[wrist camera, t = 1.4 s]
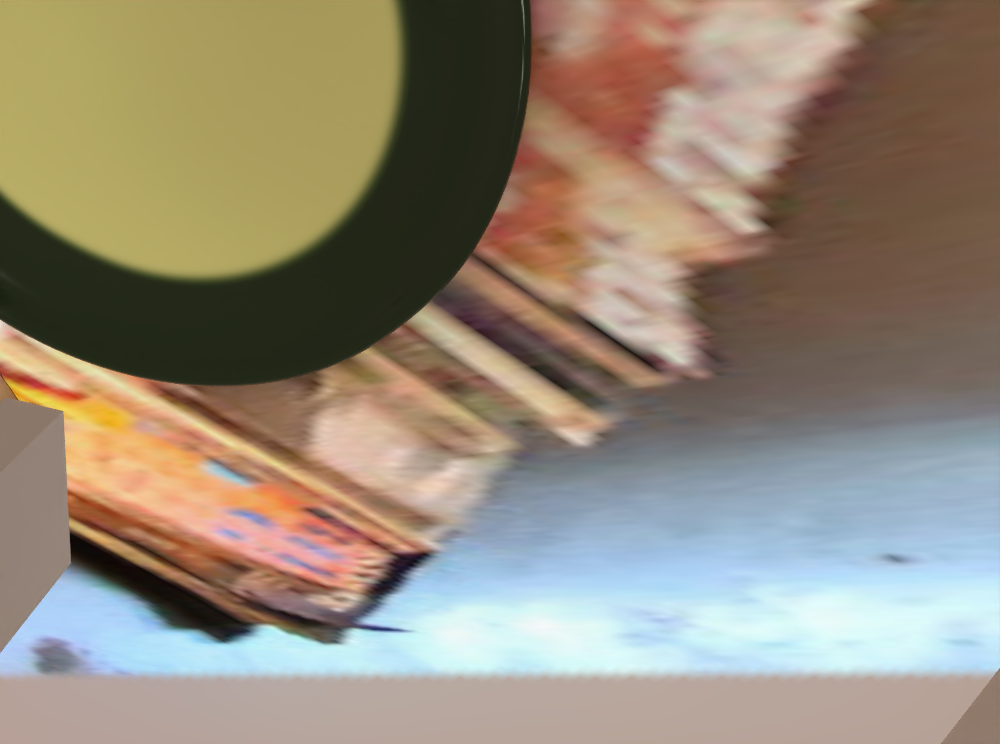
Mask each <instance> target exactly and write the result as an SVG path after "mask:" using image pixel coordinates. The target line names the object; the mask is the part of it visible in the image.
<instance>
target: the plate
mask: <svg viewBox="0 0 1000 744" xmlns="http://www.w3.org/2000/svg"><path fill="white" fill-rule="evenodd" d="M531 56H532V23H531V3H530V0H0V320H2V321H3V322H5V323H6V324H8V325H10V326H11V327H13V328H15V329H17V330H18V331H20V332H22V333H24V334H26V335H27V336H29V337H31V338H33V339H35V340H37V341H39V342H41V343H43V344H45V345H47V346H49V347H52V348H54V349H56V350H58V351H61V352H63V353H65V354H68V355H70V356H72V357H75V358H78V359H80V360H83V361H85V362H88V363H91V364H94V365H97V366H100V367H103V368H106V369H109V370H113V371H116V372H120V373H124V374H128V375H131V376H136V377H140V378H145V379H149V380H155V381H161V382H167V383H175V384H183V385H194V386H244V385H256V384H263V383H271V382H276V381H282V380H287V379H291V378H295V377H300V376H303V375H307V374H310V373H314V372H317V371H320V370H323V369H325V368H328V367H331V366H333V365H336V364H338V363H341V362H343V361H345V360H347V359H349V358H351V357H353V356H355V355H357V354H359V353H361V352H363V351H364V350H366V349H368V348H370V347H371V346H373V345H374V344H376V343H377V342H379V341H381V340H382V339H384V338H385V337H386V336H388V335H389V334H391V333H392V332H393V331H395V330H396V329H397V328H399V327H400V326H401V325H403V324H404V323H405V322H407V321H408V320H409V319H410V318H411V317H413V316H414V315H415V314H416V313H418V312H419V311H420V310H421V309H422V308H423V307H424V306H426V305H427V304H428V303H429V302H430V301H431V300H432V299H433V298H434V297H435V296H436V295H437V294H438V293H439V292H440V291H441V290H442V289H443V288H444V287H445V286H446V285H447V284H448V283H449V282H450V281H451V279H452V278H453V277H454V276H455V275H456V273H457V272H458V271H459V270H460V268H461V267H462V266H463V265H464V263H465V262H466V260H467V259H468V258H469V256H470V255H471V253H472V252H473V250H474V249H475V247H476V246H477V244H478V242H479V241H480V239H481V238H482V236H483V234H484V232H485V230H486V229H487V227H488V225H489V223H490V221H491V219H492V217H493V215H494V213H495V211H496V209H497V207H498V204H499V202H500V200H501V197H502V195H503V192H504V190H505V187H506V185H507V182H508V179H509V176H510V174H511V171H512V167H513V164H514V161H515V158H516V154H517V150H518V146H519V143H520V139H521V134H522V129H523V125H524V120H525V114H526V108H527V101H528V94H529V84H530V74H531Z"/></svg>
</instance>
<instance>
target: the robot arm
mask: <svg viewBox="0 0 1000 744" xmlns="http://www.w3.org/2000/svg"><path fill="white" fill-rule="evenodd" d="M70 563H71V557H70V537H69V517H68V497H67V477H66V457H65V437H64V417H63V411H60V410H56V409H52V408H48V407H44V406H39V405H35V404H31V403H27V402H23V401H19V400H15V399H11V398H7V397H6V398H5V399H3V400H2V401H1V402H0V653H1V651H2V650H3V649H4V647H5V646H6V645H7V644H8V642H9V641H10V640H11V639H12V637H13V636H14V635H15V633H16V632H17V631H18V630H19V628H20V627H21V626H22V625H23V623H24V622H25V621H26V619H27V618H28V617H29V616H30V614H31V613H32V612H33V610H34V609H35V608H36V607H37V605H38V604H39V603H40V602H41V600H42V599H43V598H44V596H45V595H46V594H47V593H48V591H49V590H50V589H51V588H52V586H53V585H54V584H55V582H56V581H57V580H58V579H59V577H60V576H61V575H62V574H63V572H64V571H65V570H66V568H67V567H68V566H69V565H70ZM941 744H1000V669H999V670H998V671H997V673H996V674H995V675H994V676H993V678H992V679H991V680H990V682H989V683H988V684H987V685H986V687H985V688H984V689H983V691H982V692H981V693H980V695H979V696H978V697H977V698H976V700H975V701H974V702H973V703H972V705H971V706H970V707H969V709H968V710H967V711H966V712H965V714H964V715H963V716H962V718H961V719H960V720H959V721H958V723H957V724H956V725H955V727H954V728H953V729H952V730H951V732H950V733H949V734H948V735H947V737H946V738H945V739H944V741H943V742H942V743H941Z"/></svg>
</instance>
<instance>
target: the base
mask: <svg viewBox="0 0 1000 744" xmlns="http://www.w3.org/2000/svg"><path fill="white" fill-rule="evenodd" d="M6 397H7V398H11V399H15V400H17V398H16V397H15V395H14V394H13V392H12V391H11V390H10V388H9V387H8V385H7V384H6V382H5V381H4V379H3V378H2V377H1V375H0V402H1V401H2V400H3V399H5V398H6Z"/></svg>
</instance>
